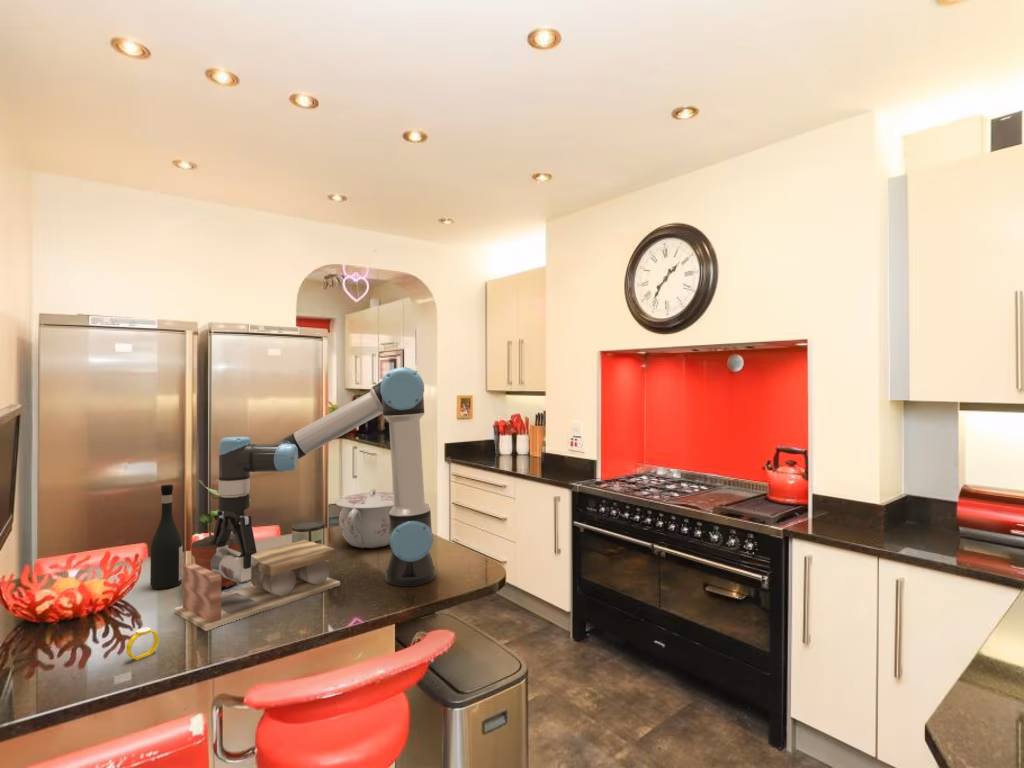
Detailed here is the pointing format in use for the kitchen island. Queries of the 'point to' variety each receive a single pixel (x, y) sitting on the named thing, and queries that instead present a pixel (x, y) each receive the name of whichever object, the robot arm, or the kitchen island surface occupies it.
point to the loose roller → (231, 565)
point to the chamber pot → (366, 518)
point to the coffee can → (308, 532)
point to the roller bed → (246, 593)
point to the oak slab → (292, 556)
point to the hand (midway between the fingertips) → (233, 575)
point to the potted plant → (211, 543)
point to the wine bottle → (166, 547)
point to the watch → (138, 632)
